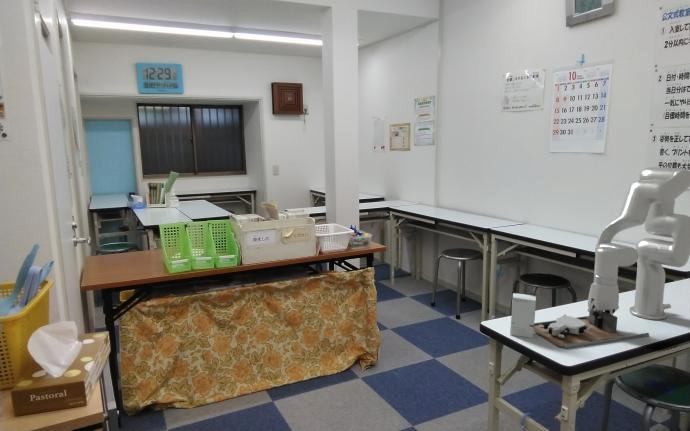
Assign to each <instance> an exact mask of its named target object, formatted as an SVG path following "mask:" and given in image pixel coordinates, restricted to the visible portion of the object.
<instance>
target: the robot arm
mask: <svg viewBox="0 0 690 431" xmlns="http://www.w3.org/2000/svg"><path fill="white" fill-rule="evenodd" d="M689 187H690V170H689V169H686V168H682V167H680V168H679V167H660V166H659V167H647V168H643V169H642V170H641V171H640V173H639V180H635V181H633V182H632V183H630V185H629V188H628V191H627V193H626V196H625V199H624V201H623V205H622V207H621V211H620V213H619V215H618V217H617V218H615V219H613V220H612V221H611V222H609V224H607V225H606V226H605V227H604V228H603V229H602V230H601V232H600V234H599V236H598V239H597V241H596V245H595V250H594V255H595V256H594V258H595V259H594V270H593V271H594V272H593V274H594V275H593V282H592V283H591V285H590V288H589V292H588V297H587V299H588V300H587V307H588V308H587V313H589V312H590V313H592V314H593V316H595V320H594V326H596V327H598V328H600V329H602V321H603V319H602V318H601V317H602V311H604V312H607V313H609V314H611V315H614V314H615V312H617V310H619V309H620V306H619V302H620V301H619V300H620V298H619V297H620V296H619V294H620V291H619V285H618V279H619V276H618V273H619V267H630V266H633V265H634V264H636V265H637V269H636V279H635V280H636V281H635V292H634V293H635V294H634V304H633V306H631V307H629V312H630V314H632V315H633V316H636V317H639V318H643V319H647V320H655V321H656V320H657V321H658V320H664V319H666V318H667V313H666V312H665V310H668V309H671V308H672V305H671V303H665V304H664V295H665V294H664V293H665V286H666V285H665V283H666V271H665V269H664V267H663V265H664V266H668V267H675V268H682V267H684V266H686V265H687V264H688V262H689V257H690V216H689V215H687V214H682V213H674V210H675V205H676V199H677V198H678V197H680V196H681V195H682V194H683V193H684V192H686V191H687V190H688V189H689ZM642 225H644V229H645V232H646V233H648V234H650V235H653V236H656V237H657V236H658V237H664V238H671V239H672V240H673V241H670V240H665V239H659V238H653V237H646V238H642V239H640V240H638V242H637V243H636V246H635V248H634V247H632V246H630V245H623V244H620V243H613V242H612V241H613V239H614V237H616V235H618V234H619V233H620V232H622V231H625V230H627V229H630V228H635V227H639V226H642ZM597 311H598V313H597Z"/></svg>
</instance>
